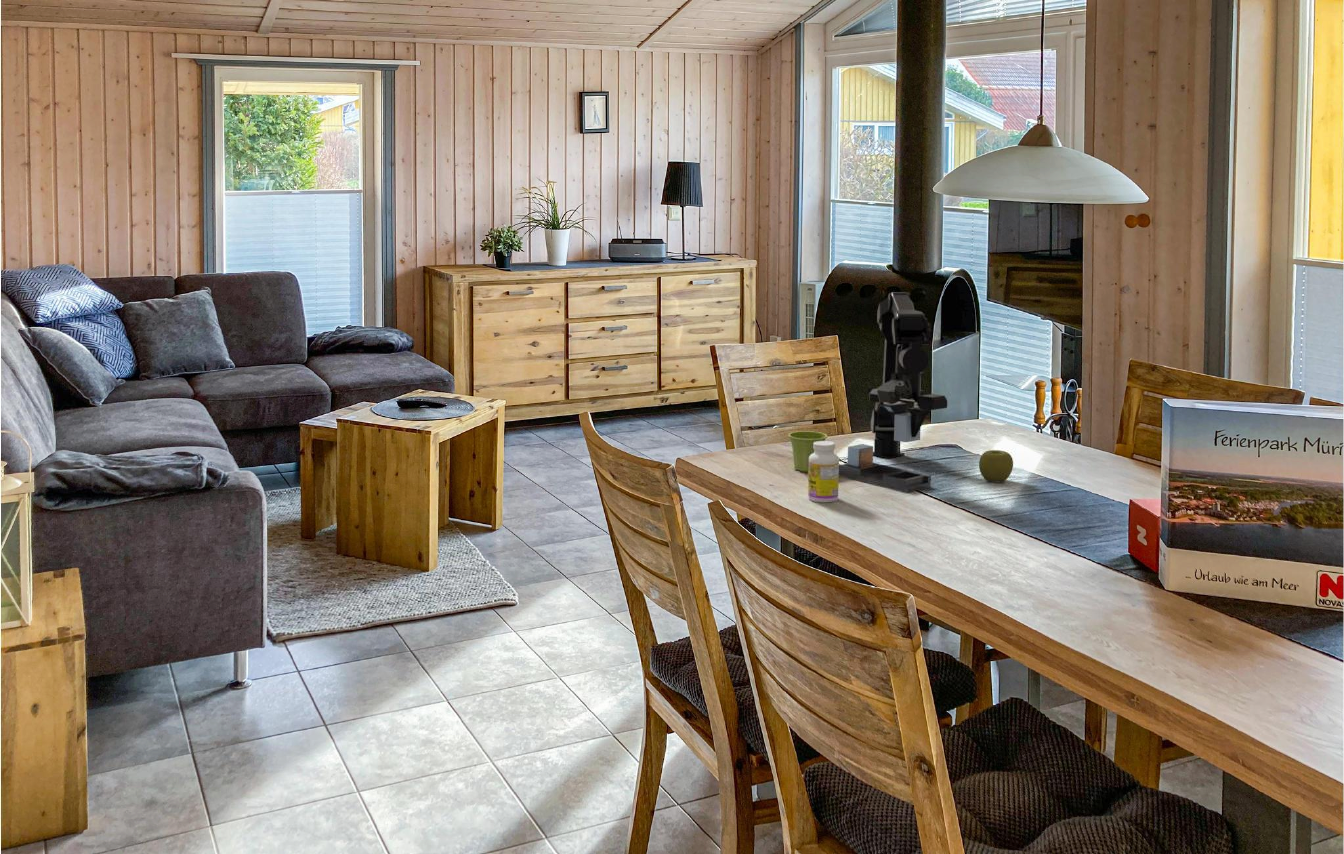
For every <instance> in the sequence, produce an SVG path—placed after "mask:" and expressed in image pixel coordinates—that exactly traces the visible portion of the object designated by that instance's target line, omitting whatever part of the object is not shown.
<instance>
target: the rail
mask: <svg viewBox="0 0 1344 854" xmlns="http://www.w3.org/2000/svg"><path fill="white" fill-rule="evenodd" d="M873 452H874V445H869V444H865V443H860V444H855V445H851V446H848V447H847V462H846V463H843V464H841V463H839V477H843V478H846V479H850V480H854V481H858V482H859V481H860V482H862V483H866V484H871V485H874V486H878V485H879V487H884V488H888V489H891V490H895V491H900V492H903V493H912V492H916V491H921V490H924V489H928V488H931V486H932V485H931V483H932V475H930V474H925V473H921V472H918V471H917V472H916V471H912V470H907V469H903V468H899V467H894V466H889V465H886V464H881V463H877V462H874V455H873Z"/></svg>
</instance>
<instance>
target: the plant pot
mask: <svg viewBox="0 0 1344 854" xmlns="http://www.w3.org/2000/svg"><path fill="white" fill-rule="evenodd" d="M788 437H789V439H790V443H791V447H792V448H791V449H792V455H793V465H794V467H793V468H794V469H795V470H796V471H797V470H798V471H800V472H803V473H804V472H805V473H806V472H808V473H809V456H810V455H811V454H813V453H814V448H813V443H814V442H817V441H826V439H827V438H828V435H827V434H826V433H823V432H820V431H811V430H810V431H808V430H805V431H804V430H803V431H802V430H801V431H793V432H790V433H788Z"/></svg>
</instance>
